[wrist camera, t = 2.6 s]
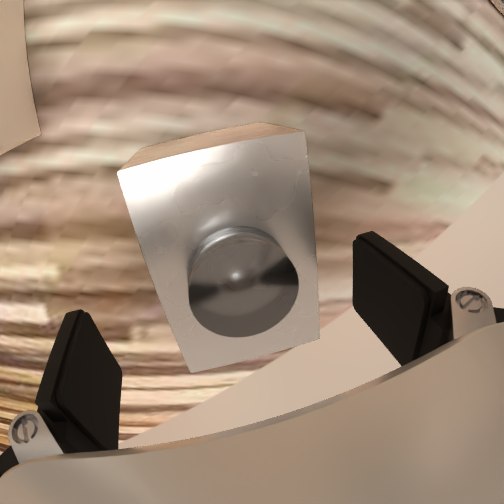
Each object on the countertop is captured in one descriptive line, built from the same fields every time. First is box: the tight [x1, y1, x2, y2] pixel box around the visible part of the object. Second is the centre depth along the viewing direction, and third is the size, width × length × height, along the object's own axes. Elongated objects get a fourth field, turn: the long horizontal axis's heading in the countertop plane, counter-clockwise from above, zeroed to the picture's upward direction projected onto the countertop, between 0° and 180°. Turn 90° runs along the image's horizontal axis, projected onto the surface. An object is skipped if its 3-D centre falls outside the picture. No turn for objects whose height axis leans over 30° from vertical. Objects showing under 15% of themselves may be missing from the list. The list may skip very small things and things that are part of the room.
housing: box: [117, 122, 320, 373], centre depth 13 cm, size 6×9×7 cm, turn 9°
